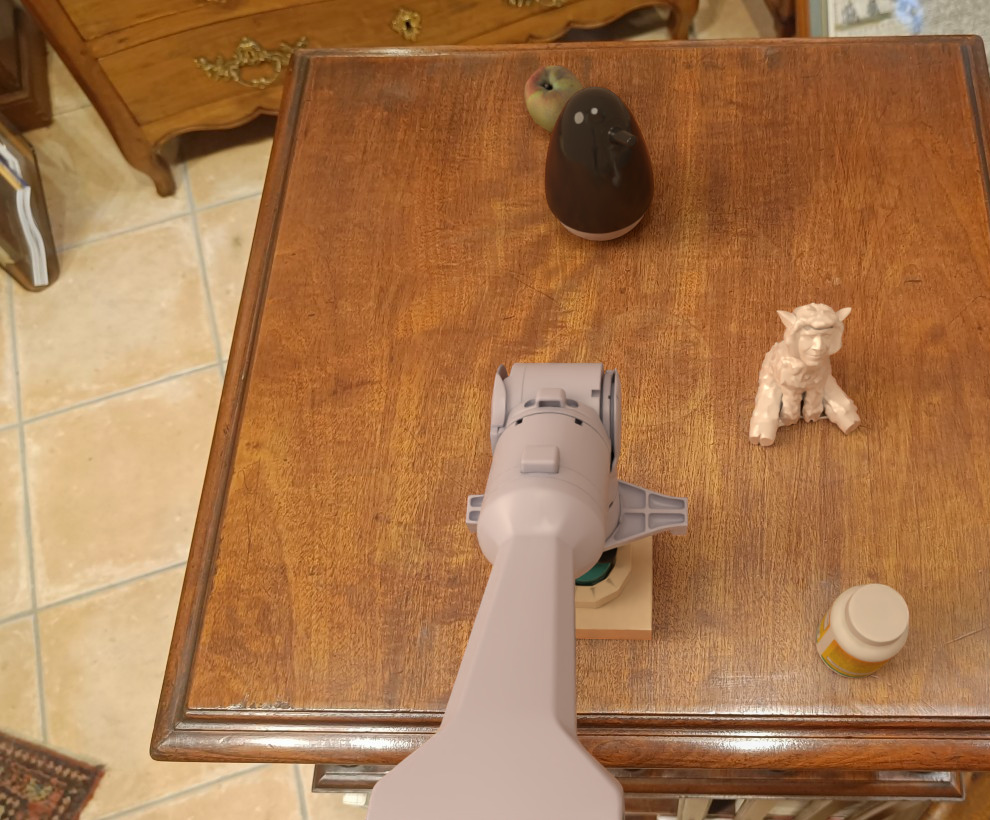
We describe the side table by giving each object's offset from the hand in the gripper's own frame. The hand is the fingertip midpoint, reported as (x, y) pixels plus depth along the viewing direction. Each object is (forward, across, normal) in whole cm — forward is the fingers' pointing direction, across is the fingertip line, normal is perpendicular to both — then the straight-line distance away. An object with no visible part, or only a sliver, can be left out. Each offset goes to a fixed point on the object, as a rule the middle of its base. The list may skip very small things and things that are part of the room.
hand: (585, 554), depth 68 cm
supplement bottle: (+6, -20, +5) cm, 21 cm away
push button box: (+5, 0, 0) cm, 5 cm away
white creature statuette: (+6, -17, -16) cm, 24 cm away
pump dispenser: (+6, 0, -36) cm, 36 cm away
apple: (+6, +5, -49) cm, 50 cm away
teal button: (+2, 0, 0) cm, 2 cm away
